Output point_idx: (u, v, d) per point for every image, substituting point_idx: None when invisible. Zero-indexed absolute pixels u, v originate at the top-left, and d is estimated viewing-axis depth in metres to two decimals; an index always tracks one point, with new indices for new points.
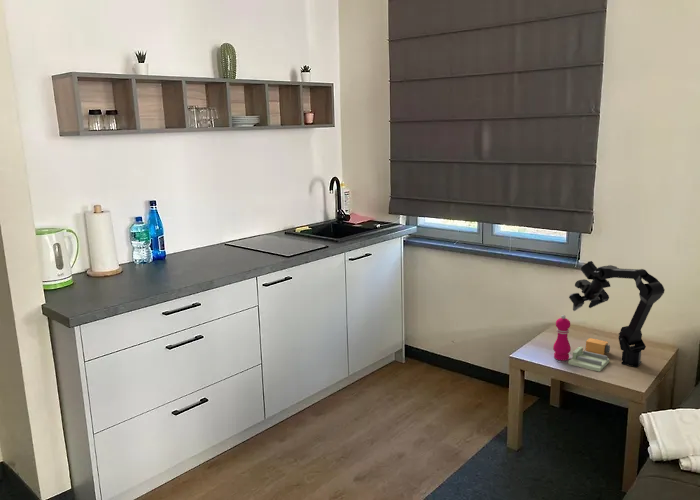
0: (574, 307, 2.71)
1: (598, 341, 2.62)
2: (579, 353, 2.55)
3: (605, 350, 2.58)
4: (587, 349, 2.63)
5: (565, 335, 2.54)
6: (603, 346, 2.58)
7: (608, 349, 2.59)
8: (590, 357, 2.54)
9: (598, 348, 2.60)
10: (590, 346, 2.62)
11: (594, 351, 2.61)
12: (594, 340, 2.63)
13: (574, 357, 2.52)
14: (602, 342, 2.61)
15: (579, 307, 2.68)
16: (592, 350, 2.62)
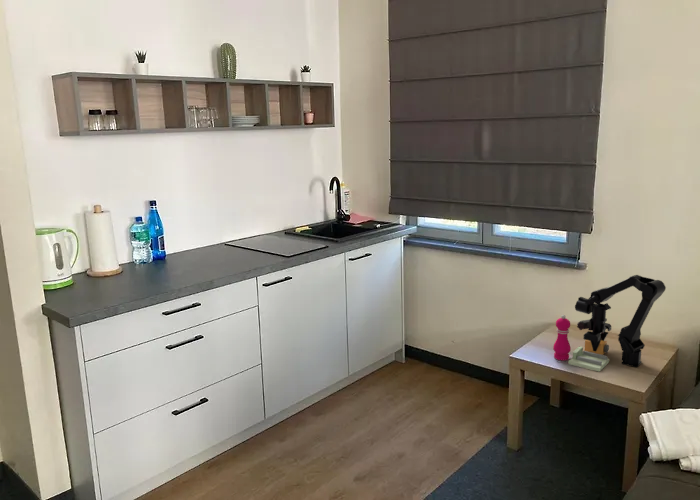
0: (594, 346, 2.60)
1: None
2: (579, 353, 2.55)
3: (604, 349, 2.59)
4: (586, 348, 2.64)
5: (565, 335, 2.54)
6: (602, 345, 2.58)
7: (607, 348, 2.59)
8: (590, 357, 2.54)
9: None
10: (589, 346, 2.62)
11: None
12: None
13: (574, 357, 2.52)
14: (601, 342, 2.61)
15: None
16: (591, 349, 2.62)
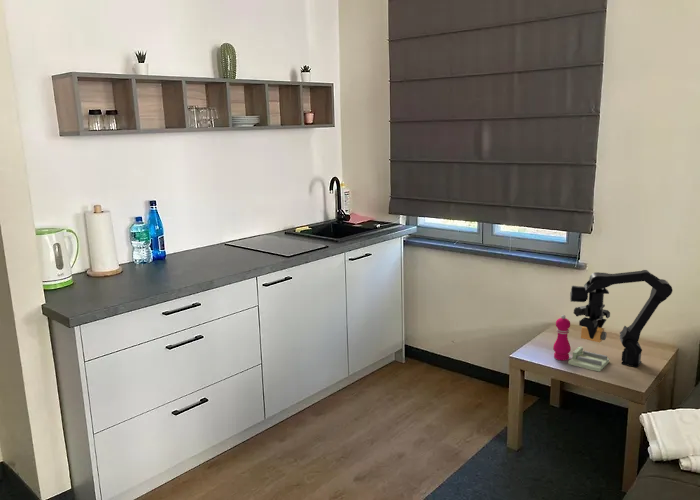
0: (591, 333, 2.49)
1: None
2: (579, 353, 2.55)
3: (601, 337, 2.47)
4: (582, 336, 2.53)
5: (565, 335, 2.54)
6: (599, 332, 2.47)
7: (604, 336, 2.48)
8: (590, 357, 2.54)
9: None
10: (585, 333, 2.51)
11: (590, 338, 2.50)
12: None
13: (574, 357, 2.52)
14: (598, 328, 2.50)
15: (596, 329, 2.46)
16: (587, 336, 2.51)
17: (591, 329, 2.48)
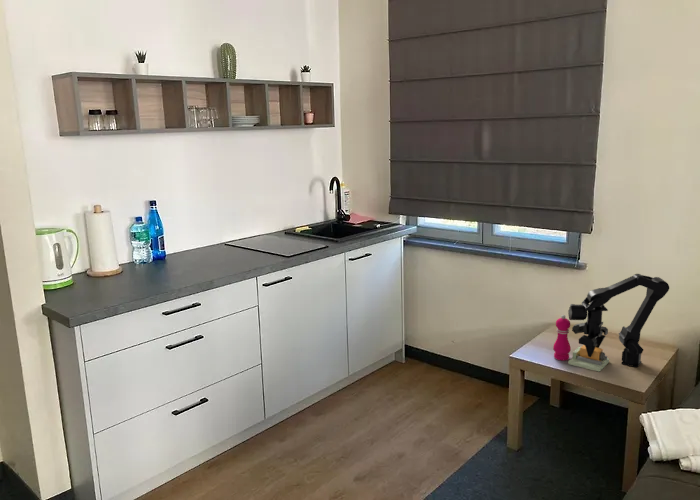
0: (589, 352, 2.47)
1: None
2: (579, 353, 2.55)
3: (600, 357, 2.47)
4: (581, 356, 2.52)
5: (565, 335, 2.54)
6: (598, 353, 2.47)
7: (603, 356, 2.48)
8: None
9: (593, 355, 2.49)
10: (584, 353, 2.51)
11: None
12: None
13: (574, 357, 2.52)
14: (597, 349, 2.50)
15: (595, 347, 2.45)
16: (586, 357, 2.51)
17: (589, 347, 2.47)
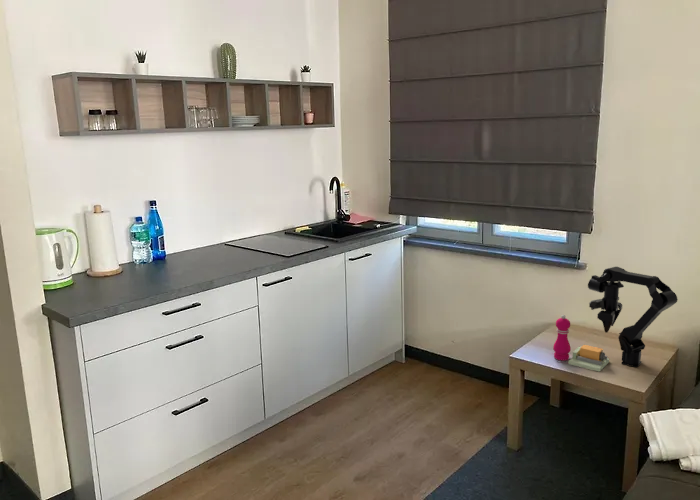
0: (606, 327, 2.53)
1: (593, 347, 2.51)
2: (579, 353, 2.55)
3: (600, 357, 2.47)
4: (581, 356, 2.52)
5: (565, 335, 2.54)
6: (598, 353, 2.47)
7: (603, 356, 2.48)
8: None
9: (593, 355, 2.49)
10: (584, 353, 2.51)
11: None
12: (588, 347, 2.52)
13: (574, 357, 2.52)
14: (597, 349, 2.50)
15: (612, 322, 2.51)
16: (586, 357, 2.51)
17: (606, 323, 2.52)
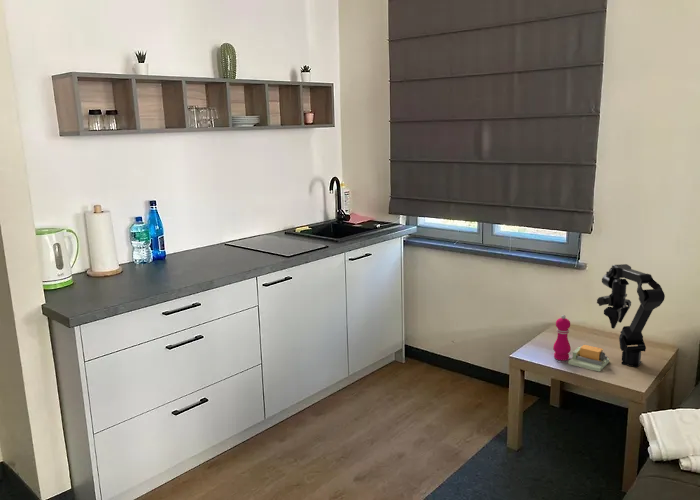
0: (613, 323, 2.56)
1: (593, 347, 2.51)
2: (579, 353, 2.55)
3: (600, 357, 2.47)
4: (581, 356, 2.52)
5: (565, 335, 2.54)
6: (598, 353, 2.47)
7: (603, 356, 2.48)
8: None
9: (593, 355, 2.49)
10: (584, 353, 2.51)
11: None
12: (588, 347, 2.52)
13: (574, 357, 2.52)
14: (597, 349, 2.50)
15: (618, 319, 2.54)
16: (586, 357, 2.51)
17: (613, 319, 2.55)
